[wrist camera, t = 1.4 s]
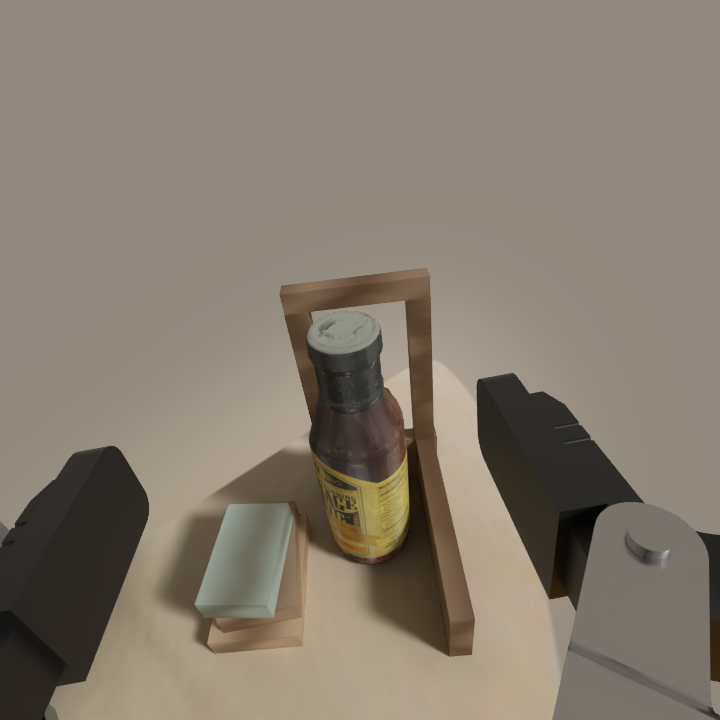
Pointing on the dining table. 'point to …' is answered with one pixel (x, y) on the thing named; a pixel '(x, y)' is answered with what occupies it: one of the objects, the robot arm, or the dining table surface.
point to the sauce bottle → (358, 438)
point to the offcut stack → (257, 579)
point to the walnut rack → (422, 435)
